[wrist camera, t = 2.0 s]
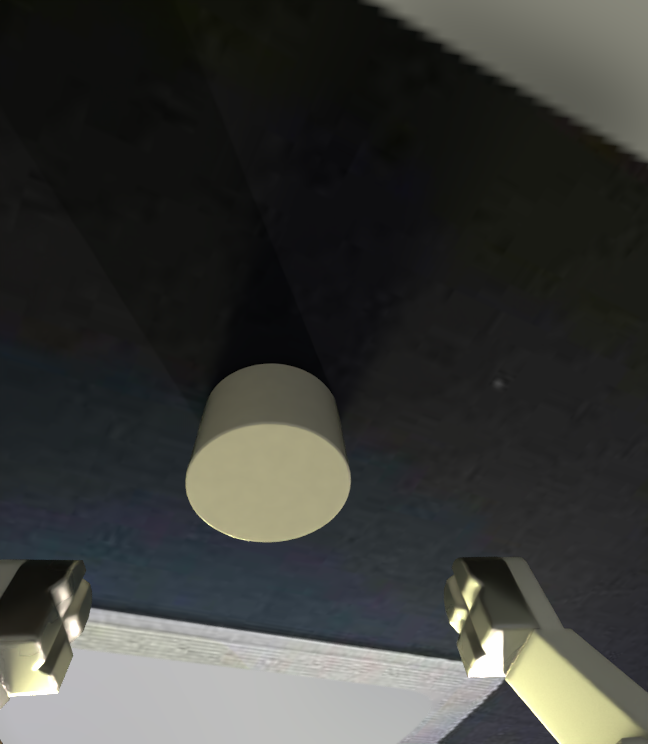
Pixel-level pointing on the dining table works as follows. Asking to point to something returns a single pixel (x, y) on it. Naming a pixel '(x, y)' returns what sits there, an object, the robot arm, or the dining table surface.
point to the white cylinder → (269, 455)
